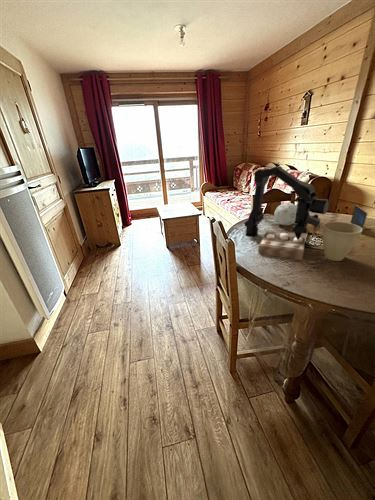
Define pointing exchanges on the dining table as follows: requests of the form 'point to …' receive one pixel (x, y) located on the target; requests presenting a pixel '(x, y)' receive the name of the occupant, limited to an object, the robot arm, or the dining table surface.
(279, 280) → the dining table surface
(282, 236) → the button middle
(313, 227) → the lion figurine
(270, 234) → the button left
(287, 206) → the puzzle ball
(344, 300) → the dining table surface
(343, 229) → the plant pot
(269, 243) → the button board
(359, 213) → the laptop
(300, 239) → the button right
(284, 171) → the robot arm
